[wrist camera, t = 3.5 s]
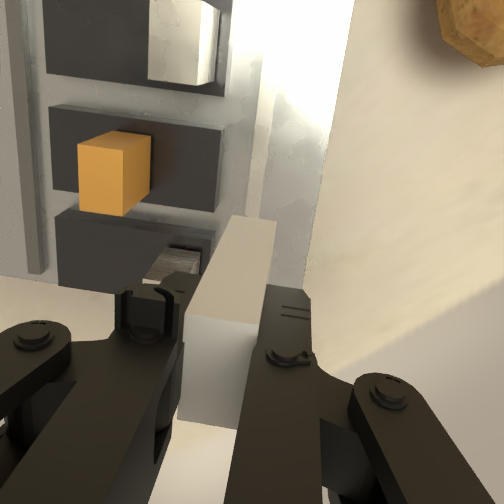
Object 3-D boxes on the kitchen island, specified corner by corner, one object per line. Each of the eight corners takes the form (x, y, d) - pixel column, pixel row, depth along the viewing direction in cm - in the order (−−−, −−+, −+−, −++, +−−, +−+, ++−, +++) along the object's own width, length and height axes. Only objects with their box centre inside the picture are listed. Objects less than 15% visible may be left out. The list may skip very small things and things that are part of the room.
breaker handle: (112, 187, 25) (79, 210, 21) (112, 130, 23) (77, 144, 20) (149, 192, 24) (122, 216, 21) (150, 136, 23) (122, 150, 20)
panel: (5, 260, 31) (-82, 320, 24) (-27, -47, 24) (-164, -91, 17) (295, 304, 31) (294, 380, 23) (350, -1, 23) (372, -27, 16)
